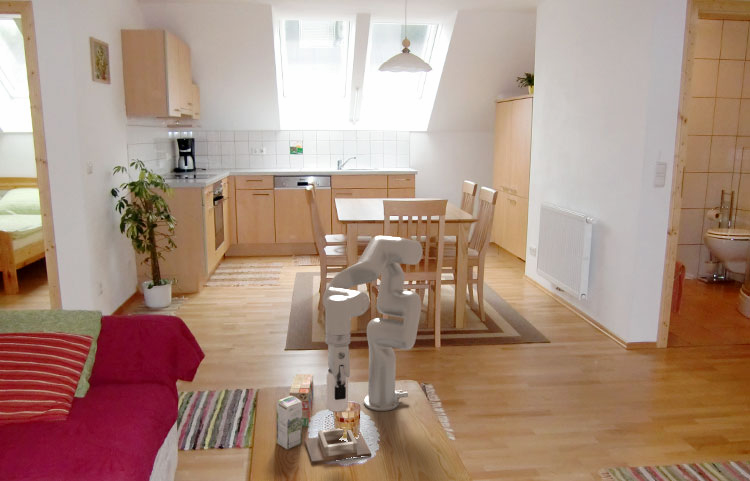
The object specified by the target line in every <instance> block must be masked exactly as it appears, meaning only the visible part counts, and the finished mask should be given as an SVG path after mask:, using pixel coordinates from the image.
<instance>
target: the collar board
mask: <svg viewBox="0 0 750 481" xmlns="http://www.w3.org/2000/svg"><path fill="white" fill-rule="evenodd" d="M340 428H341V427H340ZM340 428H330V429H329V428H328V429H323V430H318V431H317V432H318V433H317V435H318V436H317V437H310V438H304V443H305V446H306V450H307V453H308V456H309V457H308V458H310V459H309V460H310V461H311V463H310V464H311V465H317V464H324V463H331V461H333V462H337V461H336V460H340V461H343V460H342V459H346V458H351V457H352V458H353V457H361V456H368V457H372V451H371V450H370V448H369V446H368V444H367V442H366V440H365V438H364V436H363V434H362V432H361V431H359V432H360V434H359V438H358V439H355V437H354V435H353V433H354V432H353V431H352V430H347V440H348V442H346V441H344V440H342V441H341V440H339V439H340V438H341V437H342V436H343V432H344V430H343V429H340ZM361 458H362V457H361Z"/></svg>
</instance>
